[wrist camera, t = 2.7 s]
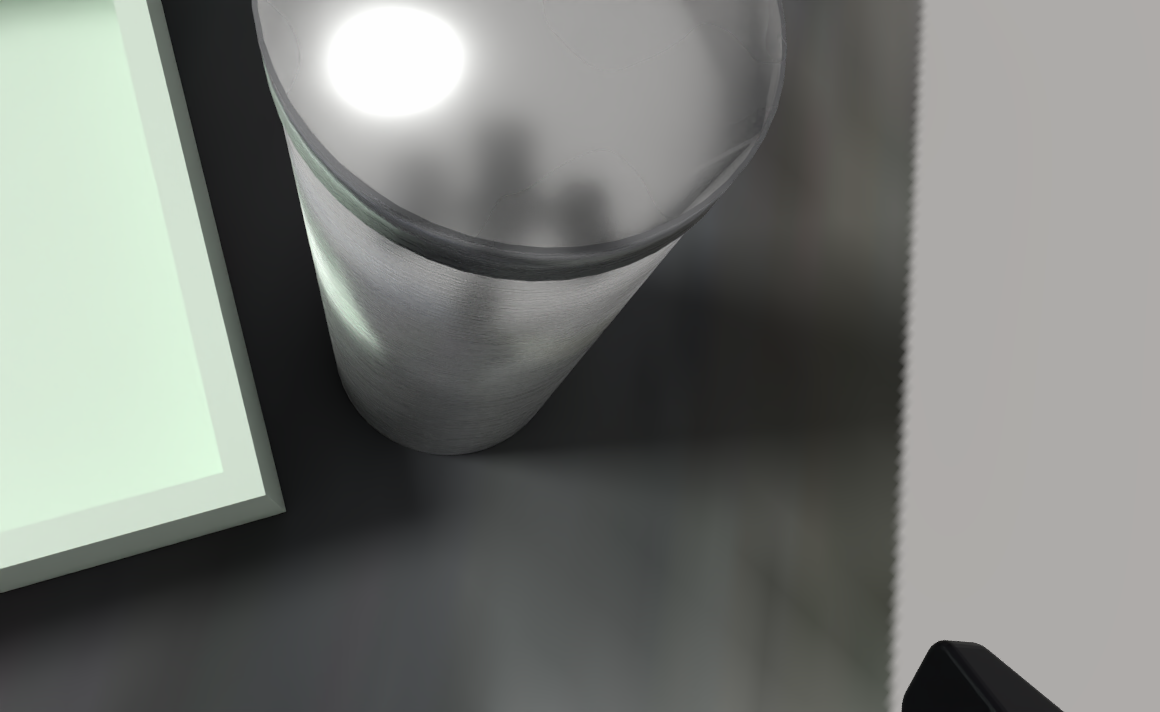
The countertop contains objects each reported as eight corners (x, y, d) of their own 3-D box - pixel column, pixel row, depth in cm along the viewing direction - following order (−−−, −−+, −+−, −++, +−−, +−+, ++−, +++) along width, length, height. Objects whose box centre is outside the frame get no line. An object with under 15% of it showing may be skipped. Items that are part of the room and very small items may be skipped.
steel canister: (532, 481, 21) (744, 318, 8) (302, 425, 20) (168, 156, 8) (580, 273, 22) (818, -122, 10) (368, 213, 22) (344, -291, 9)
